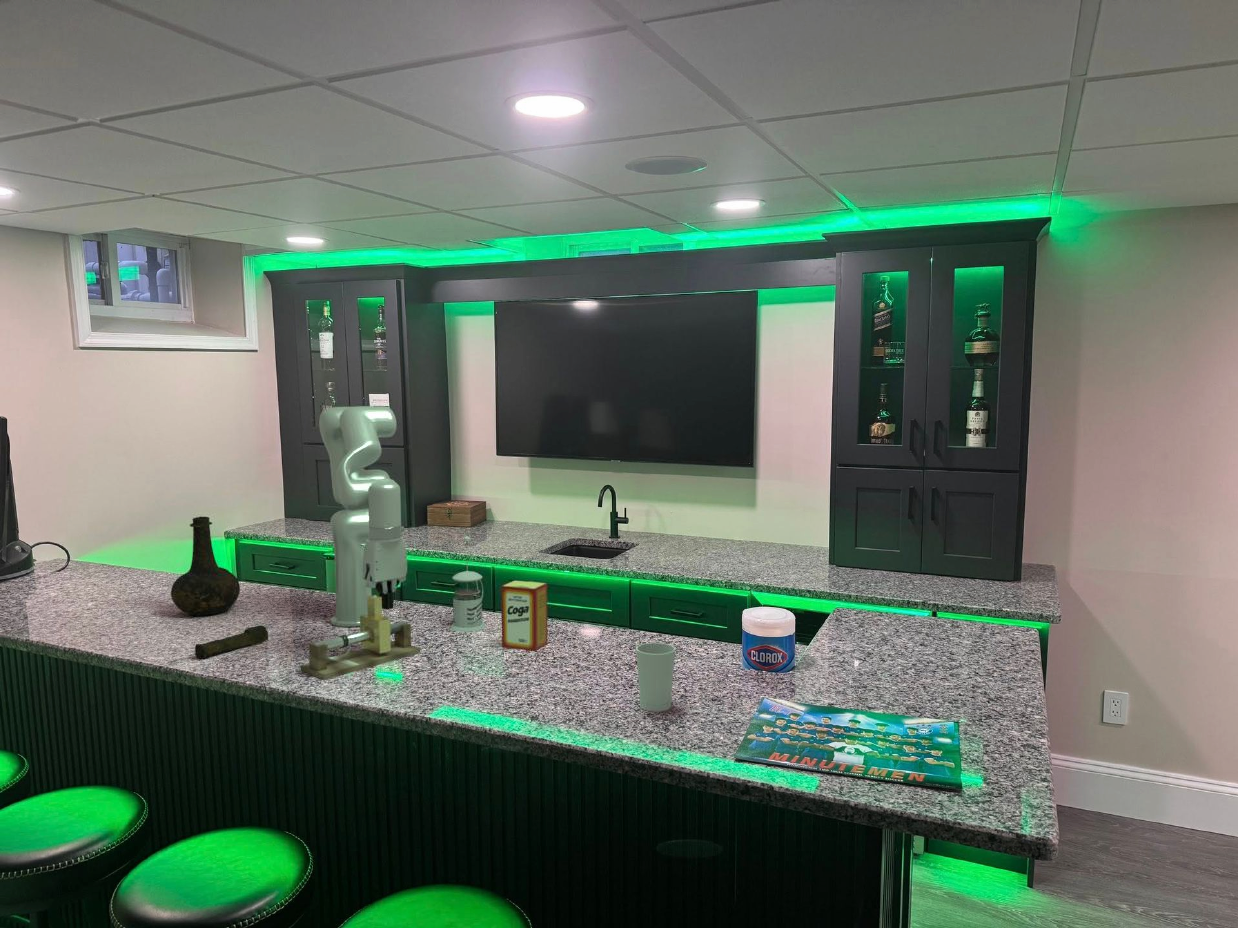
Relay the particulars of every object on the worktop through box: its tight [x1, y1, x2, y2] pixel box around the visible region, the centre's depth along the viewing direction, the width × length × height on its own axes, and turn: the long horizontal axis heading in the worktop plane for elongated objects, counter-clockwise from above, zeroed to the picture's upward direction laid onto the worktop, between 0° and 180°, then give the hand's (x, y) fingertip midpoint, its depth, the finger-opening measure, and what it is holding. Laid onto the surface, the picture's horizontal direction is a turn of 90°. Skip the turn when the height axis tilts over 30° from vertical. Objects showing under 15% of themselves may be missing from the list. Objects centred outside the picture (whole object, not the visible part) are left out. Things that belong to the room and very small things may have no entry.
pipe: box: [314, 621, 407, 652], centre depth 202 cm, size 24×3×3 cm, turn 140°
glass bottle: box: [170, 516, 241, 617], centre depth 247 cm, size 18×18×28 cm
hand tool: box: [194, 624, 269, 660], centre depth 212 cm, size 19×4×5 cm, turn 146°
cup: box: [635, 642, 676, 713], centre depth 173 cm, size 8×8×12 cm
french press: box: [449, 535, 487, 633], centre depth 233 cm, size 10×12×25 cm
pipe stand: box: [300, 620, 421, 681], centre depth 202 cm, size 26×10×7 cm, turn 140°
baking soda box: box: [500, 580, 548, 652], centre depth 215 cm, size 10×6×16 cm
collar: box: [359, 594, 391, 653], centre depth 204 cm, size 3×8×13 cm, turn 50°
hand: (386, 608), depth 207 cm, fingers closed
